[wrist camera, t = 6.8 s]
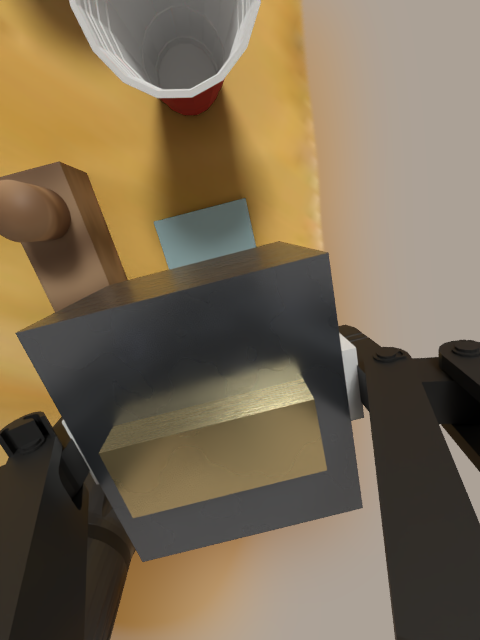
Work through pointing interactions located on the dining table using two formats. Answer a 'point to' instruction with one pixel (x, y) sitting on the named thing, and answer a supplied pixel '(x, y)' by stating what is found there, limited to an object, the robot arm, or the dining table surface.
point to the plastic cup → (169, 44)
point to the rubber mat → (206, 233)
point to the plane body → (60, 231)
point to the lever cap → (207, 397)
